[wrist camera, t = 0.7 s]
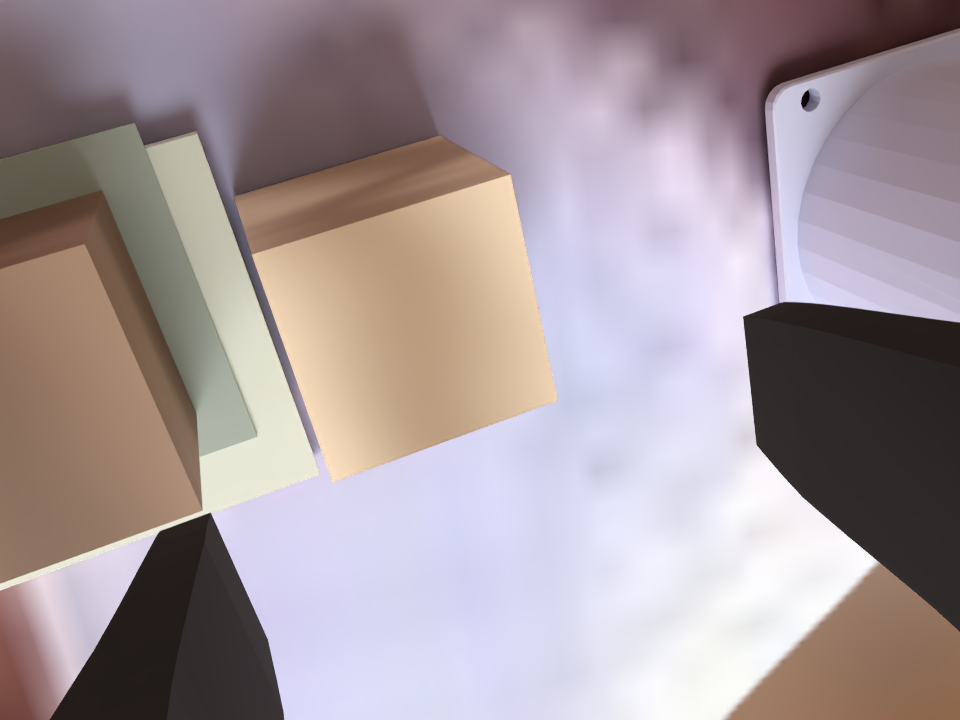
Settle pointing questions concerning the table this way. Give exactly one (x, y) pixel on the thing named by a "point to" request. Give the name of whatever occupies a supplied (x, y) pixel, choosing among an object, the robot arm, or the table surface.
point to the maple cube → (401, 299)
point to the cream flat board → (183, 303)
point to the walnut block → (84, 393)
